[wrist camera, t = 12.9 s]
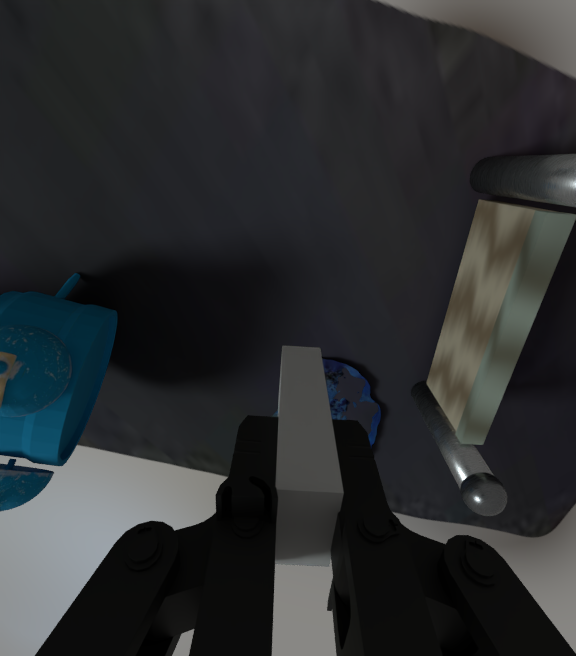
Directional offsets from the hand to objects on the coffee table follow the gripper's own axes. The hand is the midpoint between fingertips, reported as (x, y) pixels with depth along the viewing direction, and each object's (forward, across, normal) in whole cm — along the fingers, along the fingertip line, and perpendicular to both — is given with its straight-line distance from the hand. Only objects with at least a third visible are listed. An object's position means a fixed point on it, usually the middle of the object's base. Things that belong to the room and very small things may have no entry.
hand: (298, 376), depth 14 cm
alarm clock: (+23, -22, -11) cm, 33 cm away
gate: (+21, +18, -4) cm, 28 cm away
